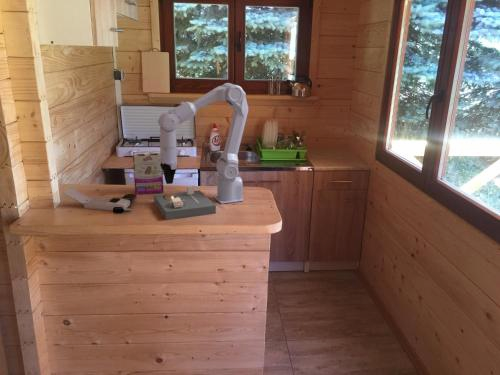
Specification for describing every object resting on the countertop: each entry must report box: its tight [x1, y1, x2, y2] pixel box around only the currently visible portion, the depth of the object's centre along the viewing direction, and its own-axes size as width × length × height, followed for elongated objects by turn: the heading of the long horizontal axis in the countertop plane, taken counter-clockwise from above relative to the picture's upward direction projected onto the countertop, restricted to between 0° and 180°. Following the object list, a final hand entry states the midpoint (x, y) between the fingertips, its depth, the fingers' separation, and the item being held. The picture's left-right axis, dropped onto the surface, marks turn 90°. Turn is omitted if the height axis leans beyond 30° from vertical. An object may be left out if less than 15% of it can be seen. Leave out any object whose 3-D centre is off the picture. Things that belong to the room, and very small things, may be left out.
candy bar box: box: [132, 150, 164, 195], centre depth 167 cm, size 11×5×16 cm, turn 106°
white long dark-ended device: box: [63, 187, 132, 212], centre depth 151 cm, size 6×6×25 cm
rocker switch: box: [171, 197, 183, 208], centre depth 147 cm, size 3×5×1 cm, turn 25°
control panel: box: [153, 189, 217, 221], centre depth 153 cm, size 18×18×5 cm
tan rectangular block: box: [186, 184, 195, 195], centre depth 158 cm, size 2×2×3 cm
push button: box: [165, 193, 175, 200], centre depth 156 cm, size 4×4×3 cm
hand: (169, 183), depth 154 cm, fingers closed
